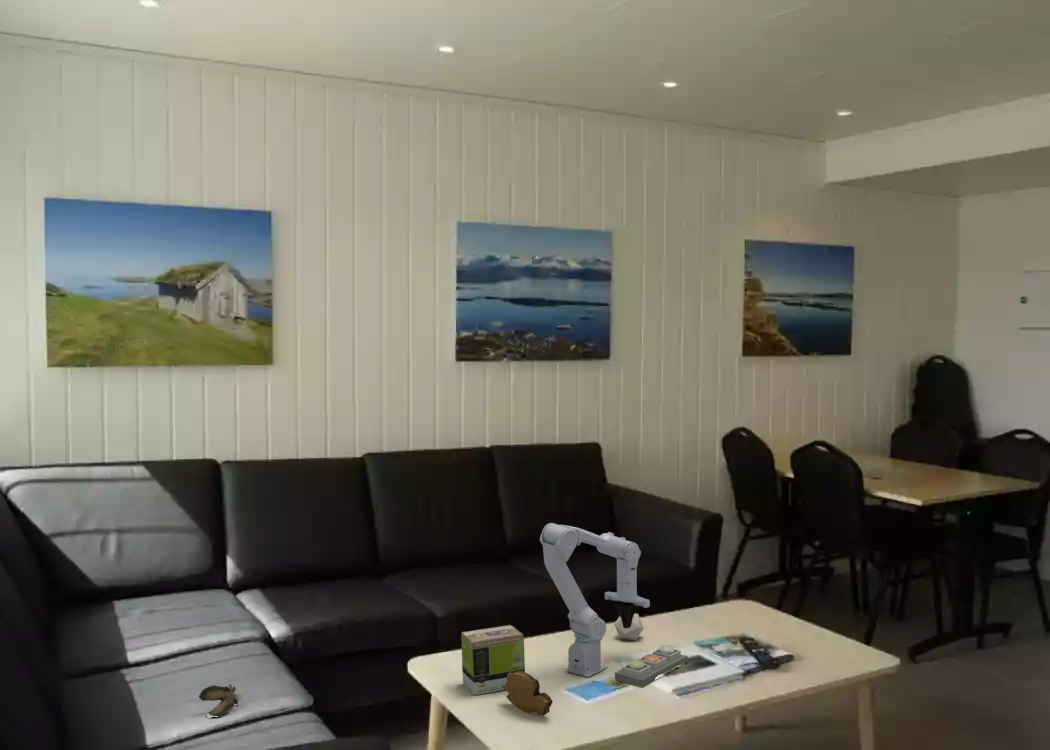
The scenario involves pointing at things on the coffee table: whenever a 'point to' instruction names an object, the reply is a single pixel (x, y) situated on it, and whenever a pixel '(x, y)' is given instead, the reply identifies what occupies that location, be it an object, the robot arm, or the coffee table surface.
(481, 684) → the tea box
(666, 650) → the blue-grey button
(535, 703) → the wooden carving
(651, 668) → the button panel
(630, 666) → the sage button
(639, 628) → the die
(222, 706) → the eagle figurine
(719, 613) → the coffee table surface
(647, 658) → the terracotta button
